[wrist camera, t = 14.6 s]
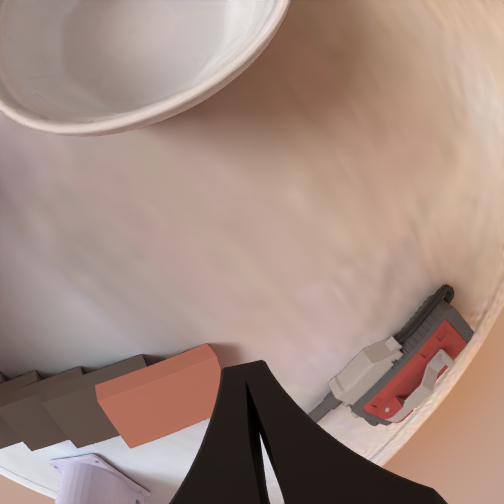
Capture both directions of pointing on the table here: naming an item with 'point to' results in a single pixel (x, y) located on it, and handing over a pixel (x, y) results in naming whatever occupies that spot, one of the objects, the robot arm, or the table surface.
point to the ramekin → (124, 58)
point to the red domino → (162, 396)
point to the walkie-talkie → (401, 365)
